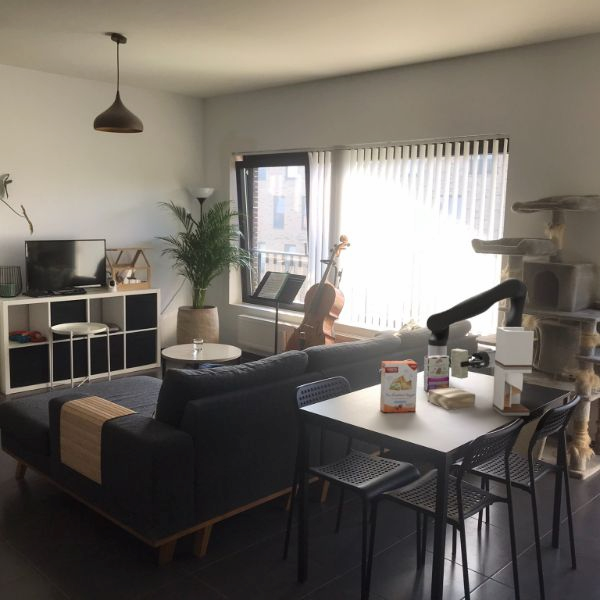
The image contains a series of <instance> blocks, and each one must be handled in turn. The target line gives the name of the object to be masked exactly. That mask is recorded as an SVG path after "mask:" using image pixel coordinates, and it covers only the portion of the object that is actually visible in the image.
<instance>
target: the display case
mask: <svg viewBox="0 0 600 600" xmlns="http://www.w3.org/2000/svg"><path fill="white" fill-rule="evenodd" d="M495 332H496V336H495V350H496V352H495V366H494V372H493V373H494V375H493V393H492V394H493V395H492V396H493V397H492V409H493V408H494V409H493V410H494V411H496V412H498V414H500V415H501V416H530V410H529V409H528V408H527V407H525V406H524V405H523V404H521V393H522V392H523V385H524V384H523V380H524V374H532V370H533V356H534V355H533V354H534V336H535V331H534V330H525V327H522V326H521V327H506V326H500V327H499V326H497V327H496V331H495Z"/></svg>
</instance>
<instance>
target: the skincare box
mask: <svg viewBox="0 0 600 600" xmlns="http://www.w3.org/2000/svg"><path fill="white" fill-rule="evenodd" d="M450 352H451V354H450V355H451V356H450V357H451V358H450V359H451V364H450V377H451V378H457V379H461V380H463V379H466V378H469V367H461V366H460V363H461V362H464V361H468V356H469V350H467V349H464V348H463V349H462V348H453V349H451V350H450Z"/></svg>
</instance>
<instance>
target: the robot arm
mask: <svg viewBox="0 0 600 600" xmlns="http://www.w3.org/2000/svg"><path fill="white" fill-rule="evenodd" d="M527 293H528V286H527V284H526V283H525V282H524V281H523V280H521V279H519V278H517V277H516V278H515V277H510V278H507V279H505V280H503V281H502V282H500V283H498V284H496V285H495V286H494V287H491V288H490V289H487V290H485V291H482V292H480V293H478V294H476V295H472V296H470V297H468V298H466V299H464V300H462V301H461V302H458V303H457V304H455V305H454V306H451V308H448V309H446V310H443V311H441V312H437V313H432V314H431V315H430V316H429V317H428V318H427V320H426V328H427V329H428V330H429V331H431V334H430V336H429V338H428V342H427V343H428V345H427V349H428V350H427V356H433V355H447V350H448V349H447V348H448V340H449V337H450V326H451V325H453V324H455V323H459V322H462V321H465V320H469V319H472V318H474V317H476V316H479V315H482V314H483V313H484V314H485V312H487V311H488V310H489V309H490V308H491V307H492V306H494V305H495V304H496V303H499V302H500V301H503V300H506V299H509V298H510V307H509V308H510V309H509V314H508V317H507V319H506V323H505V327H522V325H523V324H522V322H523V316H524V315H523V314H524V307H525V303H526V298H527ZM495 352H496V349H494V350H482V351H475V352H473V353H472V354H471V355H468V361H464V362H461V363H460V366H461V367H468V368H470V367H471V368H475V369H478V370H479V369H487V368H492V367H495ZM447 356H448V355H447ZM449 363H450V365H451V358H450V361H449Z"/></svg>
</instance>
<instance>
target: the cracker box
mask: <svg viewBox="0 0 600 600" xmlns="http://www.w3.org/2000/svg"><path fill="white" fill-rule="evenodd" d="M418 366H419V365H418V363H417V362H415V361H414V360H391V361H390V360H385V361H383V360H382V361H381V375H380V378H381V379H380V397H379V398H380V399H379V400H380V401H379V403H380V404H379V408H380V410H381V412H382V413H383V412H395V413H409V412H408V411H415V412H416V408H417V404H416V403H417V389H418V388H417V387H418V386H417V385H418V384H417V383H418Z"/></svg>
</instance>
